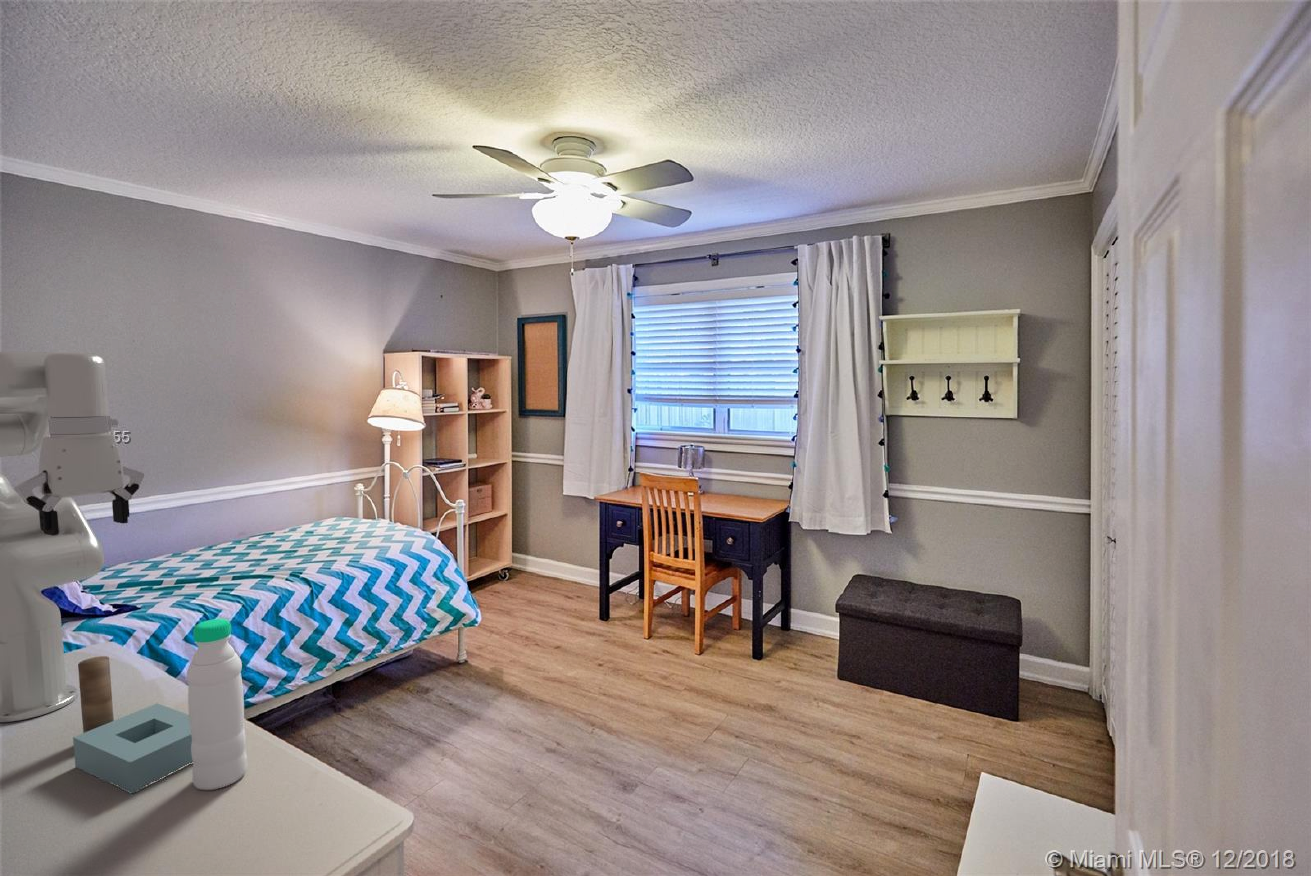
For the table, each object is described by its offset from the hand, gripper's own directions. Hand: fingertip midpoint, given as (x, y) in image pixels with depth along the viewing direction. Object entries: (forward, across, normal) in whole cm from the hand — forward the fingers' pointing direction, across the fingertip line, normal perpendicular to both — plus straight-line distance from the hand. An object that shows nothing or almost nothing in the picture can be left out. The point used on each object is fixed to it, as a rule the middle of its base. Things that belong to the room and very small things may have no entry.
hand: (87, 528), depth 109 cm
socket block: (+37, +1, +15) cm, 40 cm away
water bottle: (+37, -1, +31) cm, 48 cm away
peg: (+37, +1, +1) cm, 37 cm away
